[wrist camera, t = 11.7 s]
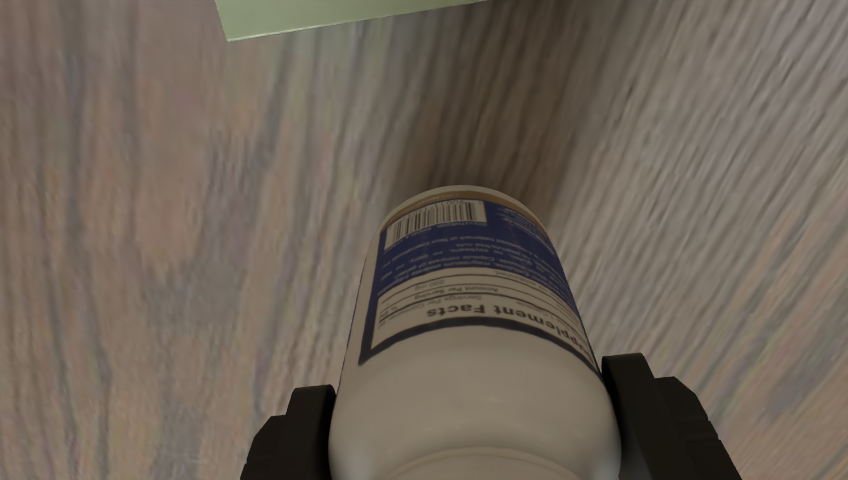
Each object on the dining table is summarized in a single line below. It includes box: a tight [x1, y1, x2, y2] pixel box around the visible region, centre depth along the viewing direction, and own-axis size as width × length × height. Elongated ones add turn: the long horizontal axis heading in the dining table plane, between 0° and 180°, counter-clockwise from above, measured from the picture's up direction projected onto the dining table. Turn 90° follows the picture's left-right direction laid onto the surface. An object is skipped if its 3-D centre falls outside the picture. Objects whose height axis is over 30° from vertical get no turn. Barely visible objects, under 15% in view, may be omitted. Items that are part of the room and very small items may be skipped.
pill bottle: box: [328, 185, 622, 480], centre depth 13 cm, size 5×5×10 cm
